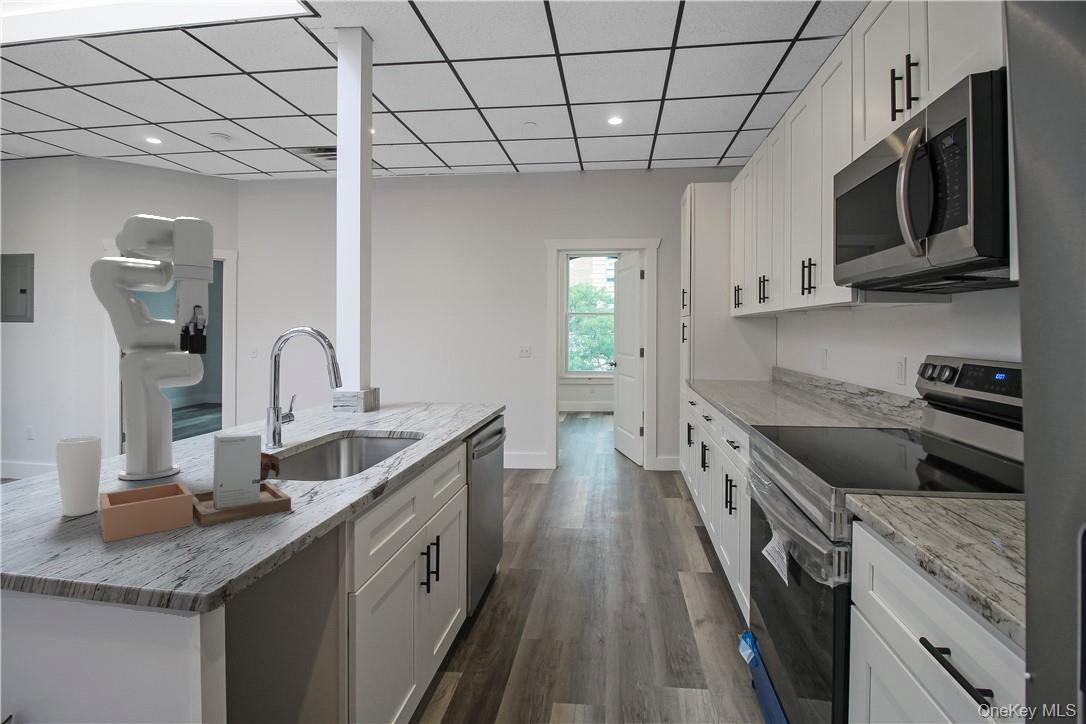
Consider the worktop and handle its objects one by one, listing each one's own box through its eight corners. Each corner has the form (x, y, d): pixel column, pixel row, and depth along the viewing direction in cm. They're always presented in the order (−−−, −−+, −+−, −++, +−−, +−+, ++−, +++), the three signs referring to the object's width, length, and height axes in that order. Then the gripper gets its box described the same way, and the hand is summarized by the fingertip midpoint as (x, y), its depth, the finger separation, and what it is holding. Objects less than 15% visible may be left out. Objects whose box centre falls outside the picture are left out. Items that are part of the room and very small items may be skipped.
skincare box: (215, 510, 105) (215, 437, 104) (212, 502, 109) (212, 432, 109) (262, 503, 110) (262, 433, 109) (257, 495, 115) (257, 429, 114)
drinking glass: (75, 520, 100) (74, 443, 99) (48, 517, 102) (46, 441, 101) (111, 509, 107) (109, 437, 106) (85, 506, 108) (83, 435, 107)
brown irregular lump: (226, 483, 129) (239, 451, 132) (264, 493, 135) (275, 462, 138) (245, 480, 121) (258, 446, 125) (284, 490, 127) (295, 458, 131)
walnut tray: (186, 505, 110) (186, 494, 110) (268, 491, 121) (268, 481, 121) (201, 527, 98) (201, 514, 98) (291, 509, 109) (291, 498, 109)
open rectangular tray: (100, 524, 98) (99, 493, 98) (182, 510, 107) (182, 481, 107) (104, 542, 90) (103, 508, 90) (192, 525, 99) (192, 494, 99)
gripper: (166, 275, 118) (166, 349, 120) (179, 272, 106) (179, 355, 107) (204, 278, 124) (204, 349, 125) (222, 275, 111) (221, 355, 112)
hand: (192, 352), depth 116 cm, fingers open, 9 cm apart
